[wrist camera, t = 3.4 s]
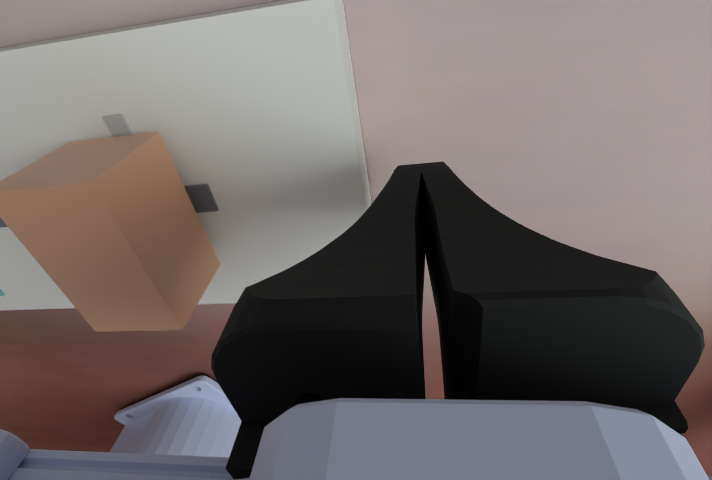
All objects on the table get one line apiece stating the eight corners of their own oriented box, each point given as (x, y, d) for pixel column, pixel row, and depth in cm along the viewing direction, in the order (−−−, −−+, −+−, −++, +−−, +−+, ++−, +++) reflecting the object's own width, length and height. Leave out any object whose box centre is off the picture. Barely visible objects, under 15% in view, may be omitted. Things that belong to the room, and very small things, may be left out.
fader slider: (158, 131, 11) (90, 182, 9) (220, 264, 14) (182, 330, 11) (68, 142, 11) (-21, 193, 9) (146, 268, 14) (95, 331, 12)
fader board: (341, -10, 10) (332, -4, 9) (381, 272, 16) (379, 300, 15) (-295, 98, 14) (-365, 112, 13) (-76, 292, 20) (-109, 315, 19)
